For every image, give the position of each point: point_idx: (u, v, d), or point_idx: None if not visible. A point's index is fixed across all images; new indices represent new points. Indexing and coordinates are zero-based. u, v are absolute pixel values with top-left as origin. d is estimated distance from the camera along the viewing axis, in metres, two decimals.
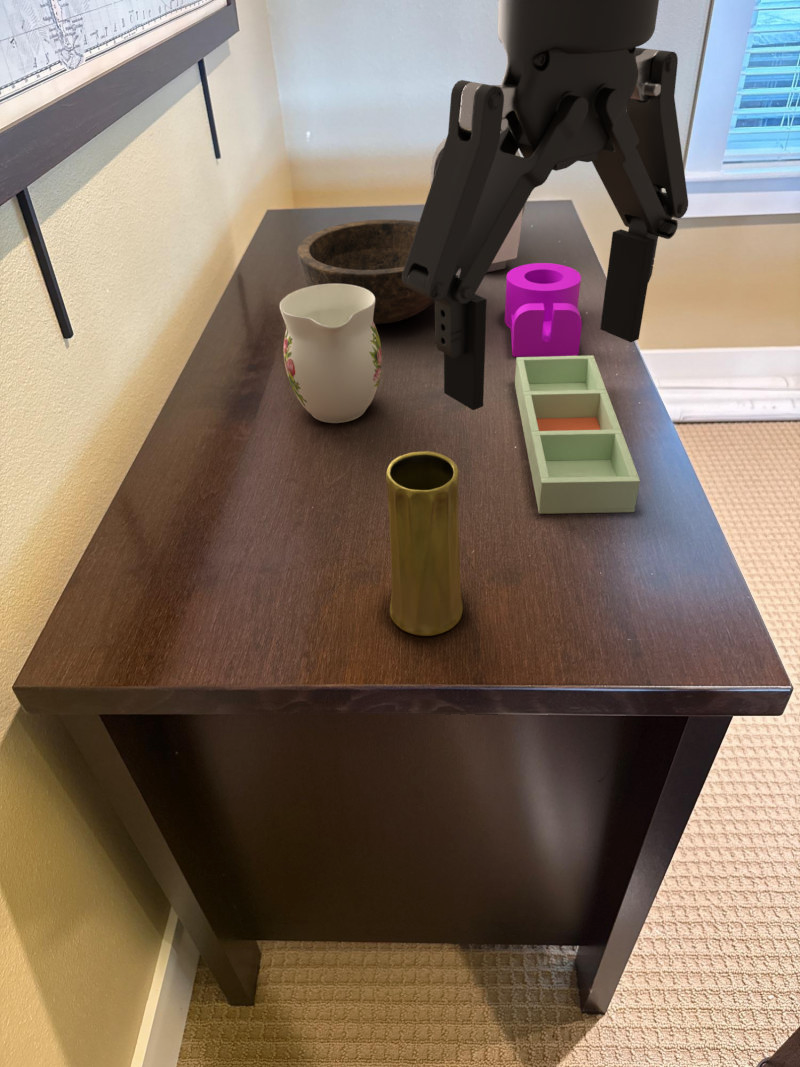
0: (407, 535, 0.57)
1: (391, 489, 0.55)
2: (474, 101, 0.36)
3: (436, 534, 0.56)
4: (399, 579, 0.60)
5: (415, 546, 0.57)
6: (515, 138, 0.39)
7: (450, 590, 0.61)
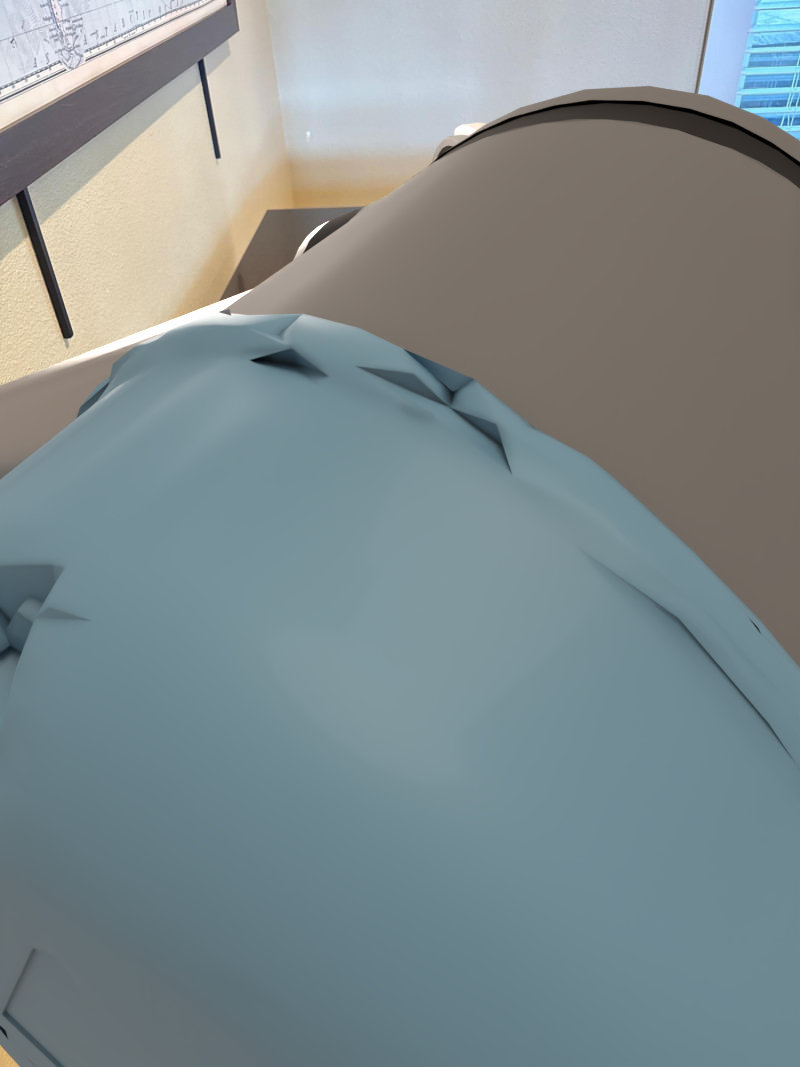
0: None
1: None
2: None
3: None
4: None
5: None
6: None
7: None
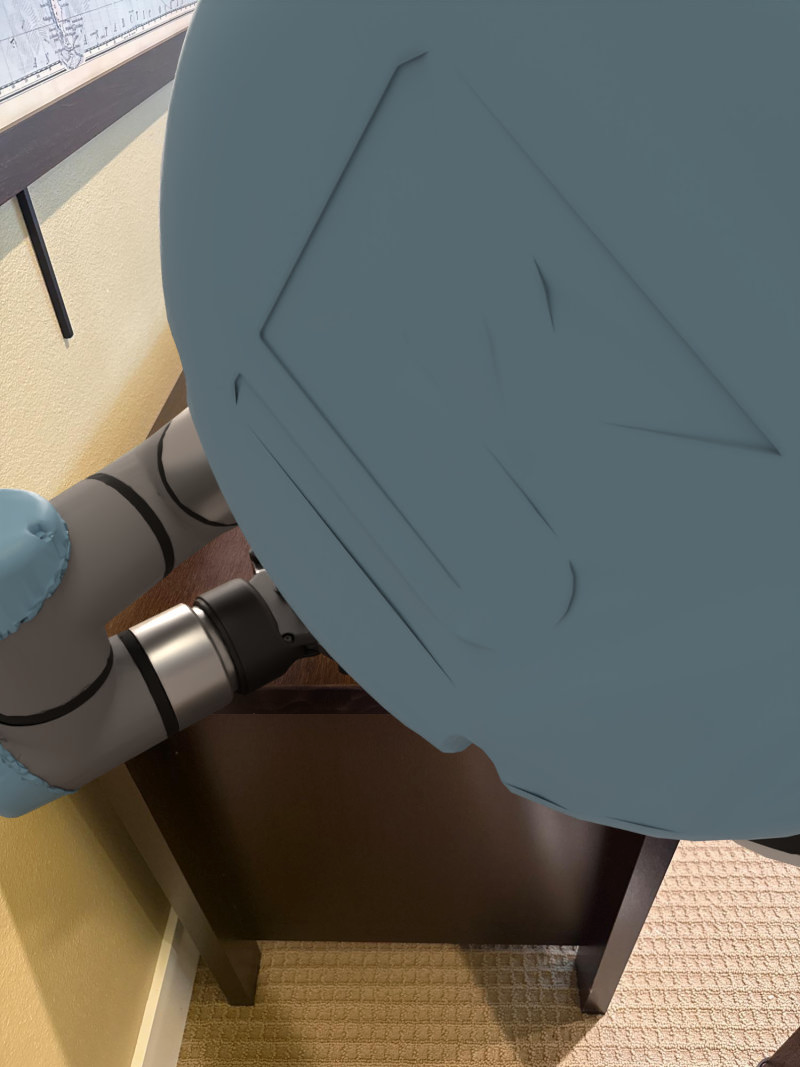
0: None
1: None
2: None
3: None
4: None
5: None
6: None
7: None
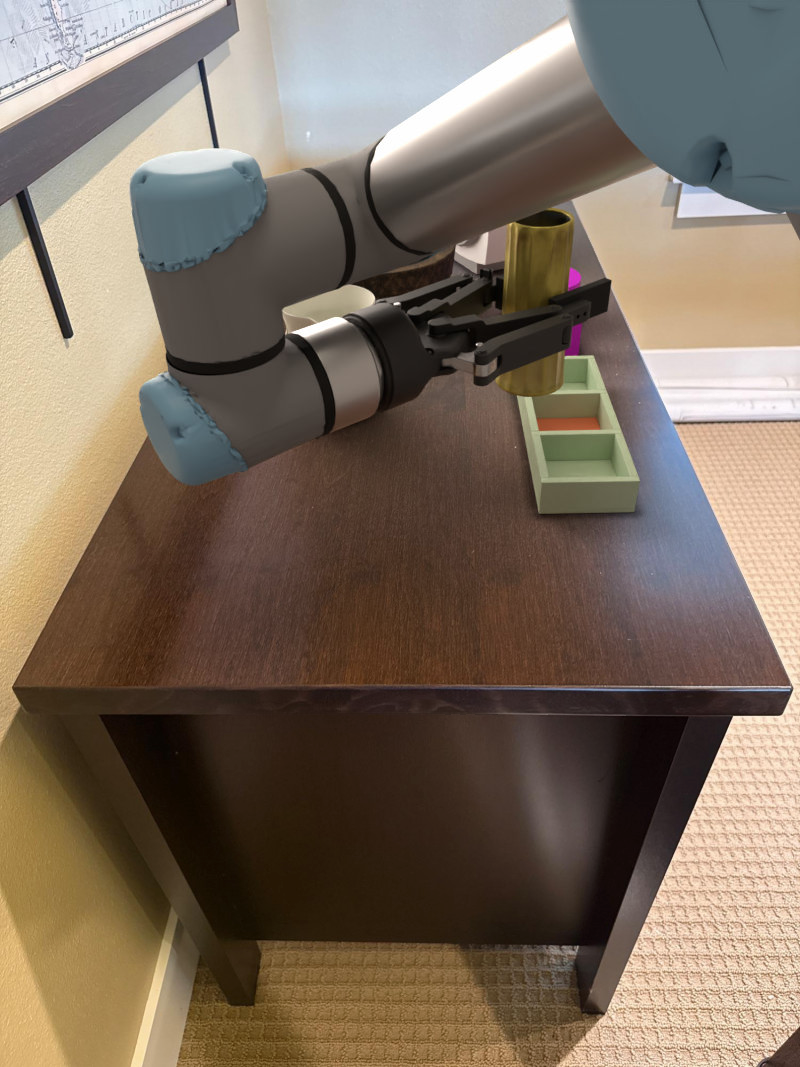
0: (525, 280, 0.61)
1: (513, 232, 0.60)
2: (489, 362, 0.55)
3: (552, 278, 0.61)
4: None
5: (532, 292, 0.61)
6: None
7: None
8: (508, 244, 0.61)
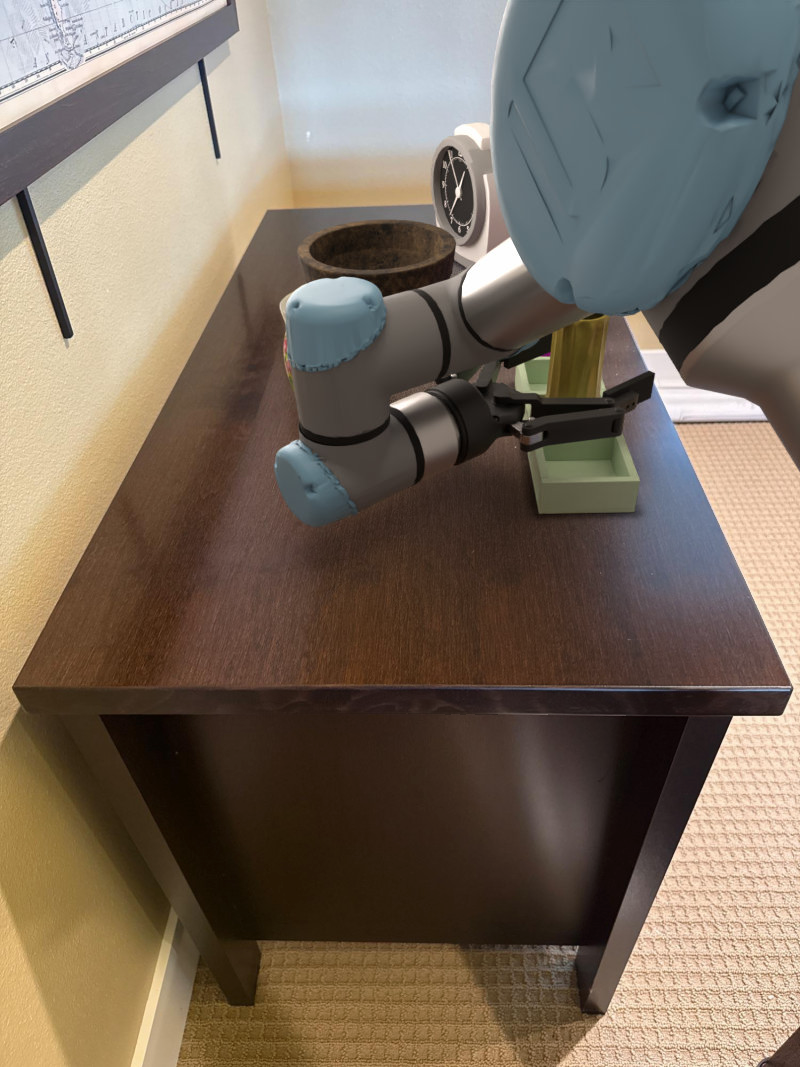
0: (569, 359, 0.76)
1: None
2: (532, 434, 0.69)
3: (591, 358, 0.75)
4: None
5: (574, 368, 0.76)
6: (522, 420, 0.73)
7: None
8: None
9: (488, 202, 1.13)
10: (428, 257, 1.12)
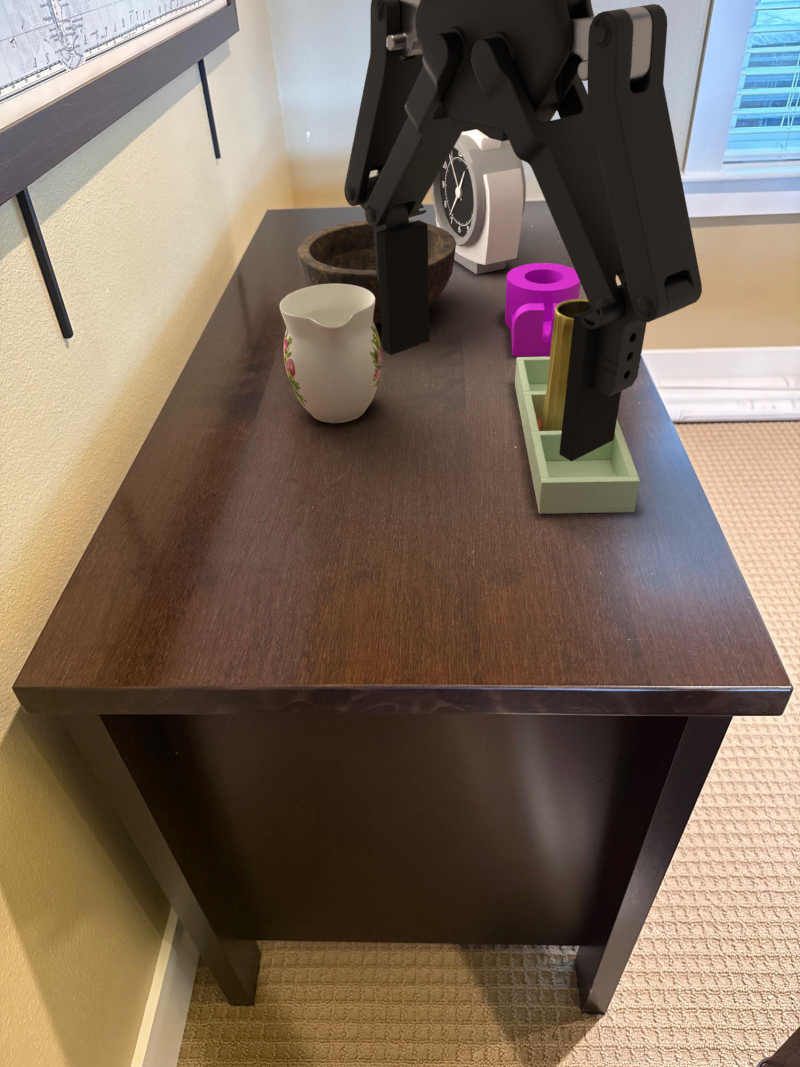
0: None
1: (559, 322, 0.74)
2: None
3: None
4: (556, 400, 0.79)
5: None
6: None
7: None
8: (555, 330, 0.76)
9: (488, 202, 1.13)
10: (428, 257, 1.12)
